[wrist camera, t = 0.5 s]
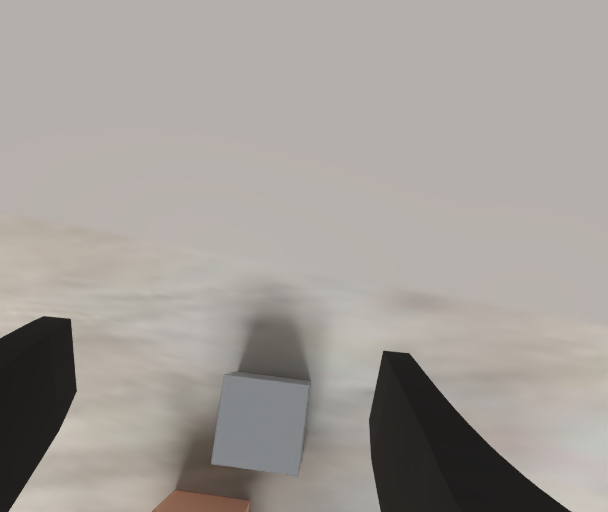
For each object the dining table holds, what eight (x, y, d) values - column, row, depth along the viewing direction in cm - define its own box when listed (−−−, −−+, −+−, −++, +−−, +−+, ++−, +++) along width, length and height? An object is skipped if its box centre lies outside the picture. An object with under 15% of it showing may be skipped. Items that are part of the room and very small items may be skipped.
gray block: (302, 458, 35) (298, 476, 30) (226, 448, 35) (210, 464, 30) (311, 380, 36) (308, 385, 31) (237, 371, 36) (223, 374, 31)
